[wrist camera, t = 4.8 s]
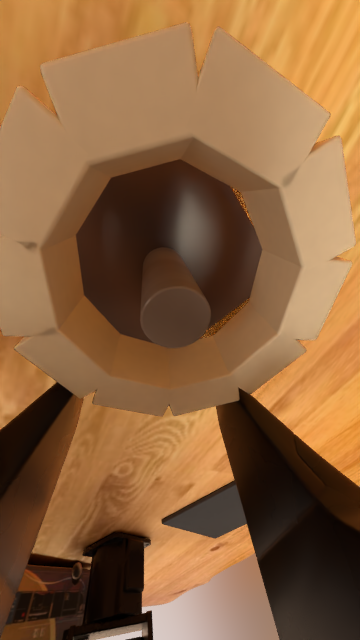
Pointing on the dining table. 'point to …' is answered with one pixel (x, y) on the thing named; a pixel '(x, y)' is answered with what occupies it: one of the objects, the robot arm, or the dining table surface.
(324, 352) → the dining table surface
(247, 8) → the dining table surface
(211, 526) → the rubber mat
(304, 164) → the beige segmented ring
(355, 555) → the robot arm
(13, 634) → the toy bus
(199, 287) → the stand
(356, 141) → the dining table surface
